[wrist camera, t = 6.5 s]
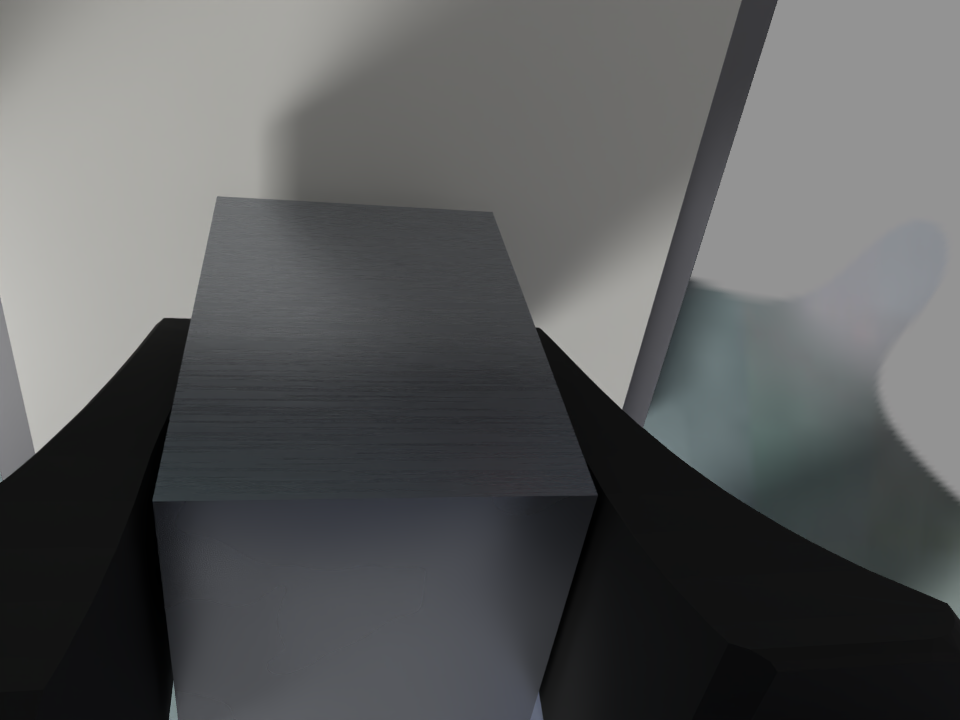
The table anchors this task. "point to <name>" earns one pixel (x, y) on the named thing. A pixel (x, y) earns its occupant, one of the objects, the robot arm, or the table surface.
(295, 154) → the dial scale
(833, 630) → the robot arm
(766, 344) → the table surface
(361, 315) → the block
